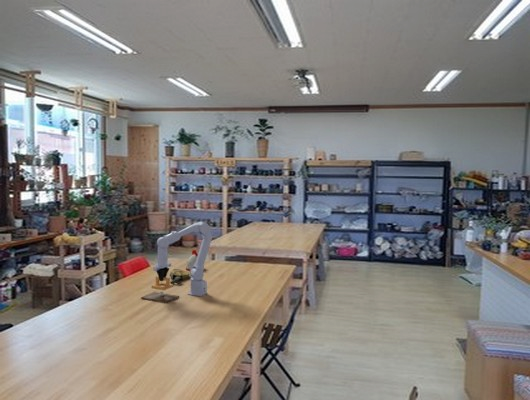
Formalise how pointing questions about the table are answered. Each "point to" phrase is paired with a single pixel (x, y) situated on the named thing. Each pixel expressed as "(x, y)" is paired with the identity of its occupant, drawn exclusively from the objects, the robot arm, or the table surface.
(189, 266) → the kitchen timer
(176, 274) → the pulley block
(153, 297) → the walnut board
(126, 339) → the table surface
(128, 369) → the table surface
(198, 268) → the robot arm
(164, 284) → the link
